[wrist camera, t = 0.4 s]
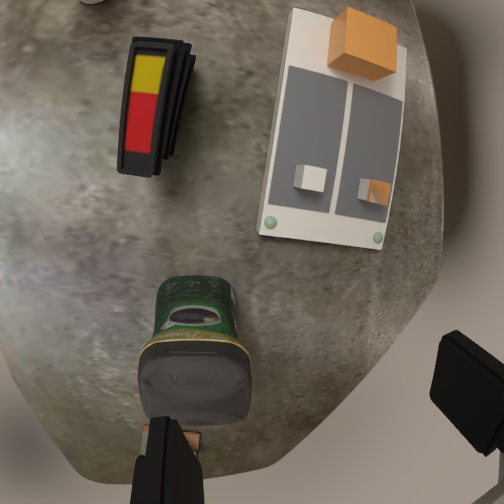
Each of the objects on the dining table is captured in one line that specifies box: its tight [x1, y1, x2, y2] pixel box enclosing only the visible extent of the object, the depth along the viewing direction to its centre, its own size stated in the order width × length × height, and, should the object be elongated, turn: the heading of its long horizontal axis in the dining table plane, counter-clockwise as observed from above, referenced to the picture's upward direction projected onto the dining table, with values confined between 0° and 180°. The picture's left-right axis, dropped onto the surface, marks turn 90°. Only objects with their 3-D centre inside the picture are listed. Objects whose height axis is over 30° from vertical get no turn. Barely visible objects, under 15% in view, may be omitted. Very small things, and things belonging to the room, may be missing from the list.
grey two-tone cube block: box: [357, 178, 391, 206], centre depth 33 cm, size 2×2×3 cm
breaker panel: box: [256, 8, 407, 250], centre depth 33 cm, size 28×16×3 cm, turn 172°
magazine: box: [117, 37, 196, 178], centre depth 26 cm, size 4×13×15 cm, turn 168°
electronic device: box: [139, 425, 200, 459], centre depth 40 cm, size 4×10×8 cm, turn 81°
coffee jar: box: [138, 276, 252, 426], centre depth 29 cm, size 10×8×19 cm
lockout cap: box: [327, 7, 397, 81], centre depth 27 cm, size 6×6×5 cm
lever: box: [293, 165, 327, 192], centre depth 31 cm, size 2×2×3 cm
